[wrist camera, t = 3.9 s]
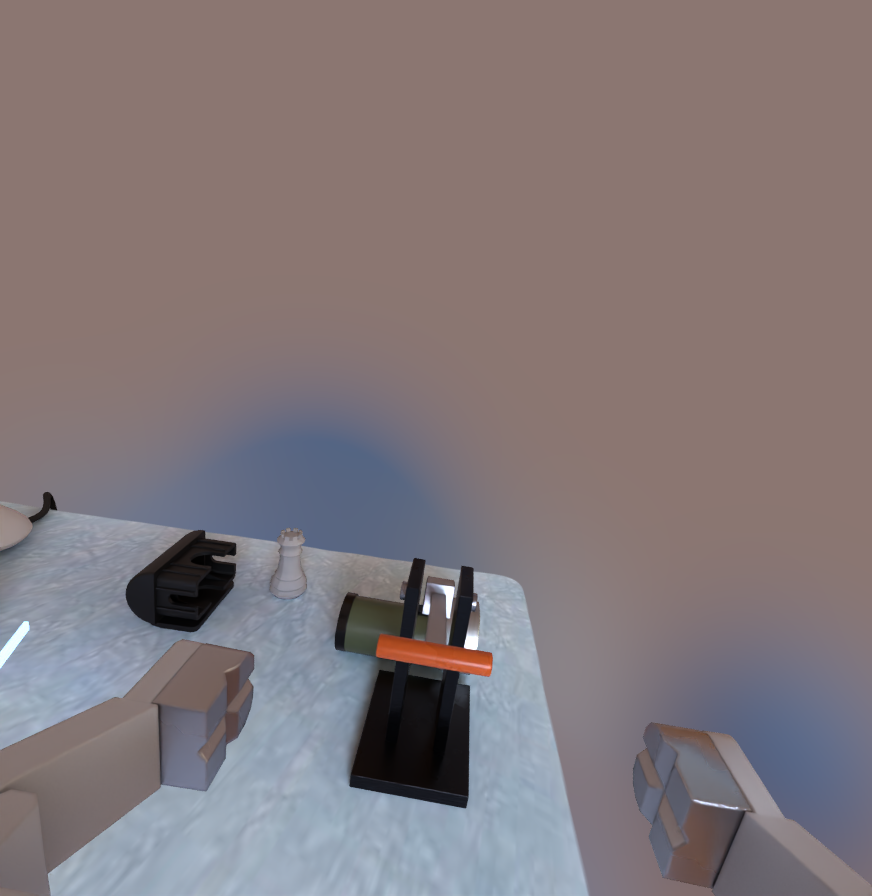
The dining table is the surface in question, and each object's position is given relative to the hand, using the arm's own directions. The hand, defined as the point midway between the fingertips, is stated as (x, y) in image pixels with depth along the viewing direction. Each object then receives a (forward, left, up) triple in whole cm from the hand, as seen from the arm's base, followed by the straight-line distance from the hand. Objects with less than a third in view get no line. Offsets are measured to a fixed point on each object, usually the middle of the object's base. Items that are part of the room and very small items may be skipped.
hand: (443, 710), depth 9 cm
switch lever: (-14, +11, -12) cm, 21 cm away
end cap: (-46, +2, -27) cm, 53 cm away
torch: (-28, +20, -27) cm, 44 cm away
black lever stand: (-19, +16, -27) cm, 37 cm away
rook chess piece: (-44, +13, -27) cm, 53 cm away
